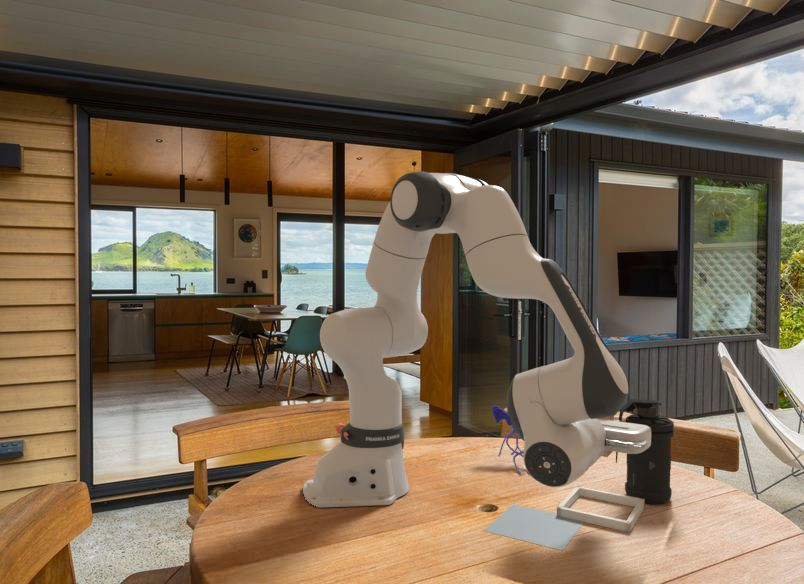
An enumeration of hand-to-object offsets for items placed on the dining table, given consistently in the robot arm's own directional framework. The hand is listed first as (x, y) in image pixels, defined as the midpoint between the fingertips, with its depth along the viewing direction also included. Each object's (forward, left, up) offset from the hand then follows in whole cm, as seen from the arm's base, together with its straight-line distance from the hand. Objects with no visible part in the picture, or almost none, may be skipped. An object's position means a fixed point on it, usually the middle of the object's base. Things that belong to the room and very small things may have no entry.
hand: (599, 421), depth 114 cm
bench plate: (-14, -2, -19) cm, 24 cm away
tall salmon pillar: (-1, -1, -5) cm, 6 cm away
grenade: (+16, +7, -19) cm, 25 cm away
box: (+1, 0, -19) cm, 19 cm away
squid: (+1, +37, -19) cm, 42 cm away
